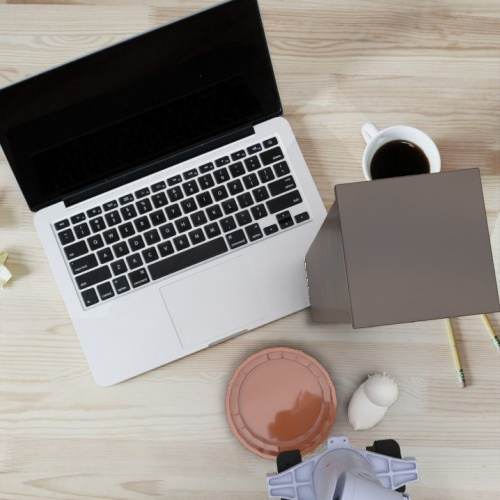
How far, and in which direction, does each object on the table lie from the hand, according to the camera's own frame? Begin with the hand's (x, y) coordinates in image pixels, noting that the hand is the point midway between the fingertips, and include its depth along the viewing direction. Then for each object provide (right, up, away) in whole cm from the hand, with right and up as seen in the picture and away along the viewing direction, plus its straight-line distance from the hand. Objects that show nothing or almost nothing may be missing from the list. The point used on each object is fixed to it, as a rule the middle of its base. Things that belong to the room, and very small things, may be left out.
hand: (334, 460), depth 77 cm
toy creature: (+5, +5, +10) cm, 12 cm away
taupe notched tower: (+2, +18, +11) cm, 22 cm away
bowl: (-5, +4, +10) cm, 12 cm away
